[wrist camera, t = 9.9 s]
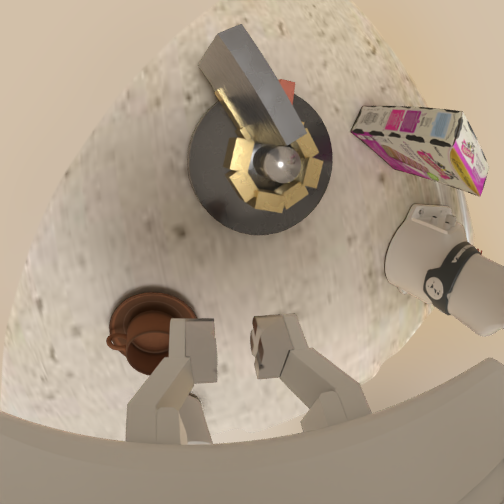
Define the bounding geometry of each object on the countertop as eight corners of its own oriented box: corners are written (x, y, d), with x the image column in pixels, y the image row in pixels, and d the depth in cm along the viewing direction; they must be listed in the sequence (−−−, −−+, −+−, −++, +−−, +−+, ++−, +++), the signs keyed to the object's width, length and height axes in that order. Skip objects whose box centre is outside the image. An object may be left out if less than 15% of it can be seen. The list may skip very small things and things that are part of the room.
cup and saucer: (130, 363, 35) (131, 394, 30) (96, 298, 30) (89, 328, 25) (205, 344, 38) (215, 374, 33) (184, 275, 33) (192, 302, 28)
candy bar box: (348, 133, 32) (452, 146, 18) (361, 105, 31) (462, 107, 17) (393, 172, 38) (481, 199, 23) (404, 146, 36) (491, 165, 22)
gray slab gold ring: (321, 175, 31) (372, 190, 23) (255, 222, 30) (291, 253, 23) (246, 42, 22) (283, 10, 14) (163, 84, 22) (167, 58, 14)
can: (155, 393, 39) (165, 453, 28) (198, 388, 41) (216, 447, 31) (162, 416, 41) (172, 470, 31) (201, 411, 44) (217, 464, 34)
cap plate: (315, 85, 28) (345, 78, 23) (327, 213, 36) (354, 227, 31) (175, 97, 24) (179, 86, 19) (203, 245, 32) (214, 267, 27)
